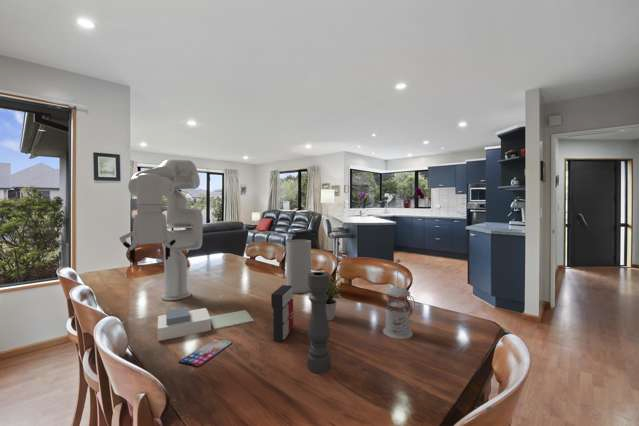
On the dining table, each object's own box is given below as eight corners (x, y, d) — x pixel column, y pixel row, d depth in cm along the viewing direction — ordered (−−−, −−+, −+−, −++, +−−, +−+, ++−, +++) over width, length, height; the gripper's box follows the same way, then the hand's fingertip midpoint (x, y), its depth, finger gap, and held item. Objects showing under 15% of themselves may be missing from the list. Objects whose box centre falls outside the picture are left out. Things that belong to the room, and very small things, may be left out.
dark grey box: (284, 342, 90) (284, 295, 89) (271, 340, 91) (271, 294, 90) (294, 327, 100) (294, 285, 100) (282, 326, 101) (282, 284, 101)
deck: (158, 327, 101) (158, 316, 101) (206, 318, 109) (206, 307, 109) (157, 341, 91) (157, 328, 91) (210, 330, 98) (210, 318, 98)
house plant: (354, 313, 112) (354, 272, 112) (342, 327, 100) (342, 281, 99) (321, 308, 118) (321, 269, 118) (306, 321, 106) (305, 277, 105)
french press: (376, 328, 99) (376, 257, 98) (403, 323, 103) (403, 254, 103) (395, 341, 90) (395, 262, 89) (423, 334, 94) (423, 259, 94)
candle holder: (307, 361, 79) (306, 271, 78) (329, 360, 79) (328, 270, 78) (308, 374, 72) (307, 277, 72) (332, 373, 73) (331, 276, 72)
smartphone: (234, 341, 90) (198, 367, 76) (234, 343, 90) (198, 369, 76) (214, 337, 92) (177, 361, 78) (214, 339, 92) (177, 364, 78)
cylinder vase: (310, 293, 138) (310, 242, 137) (285, 294, 138) (284, 242, 137) (311, 286, 150) (311, 239, 150) (288, 286, 151) (287, 239, 150)
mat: (209, 317, 109) (209, 316, 109) (245, 310, 116) (245, 310, 116) (213, 329, 99) (213, 328, 99) (253, 321, 106) (253, 320, 106)
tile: (166, 316, 101) (166, 310, 101) (187, 312, 104) (187, 307, 104) (166, 325, 93) (166, 319, 93) (189, 321, 97) (189, 315, 96)
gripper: (177, 210, 105) (178, 257, 104) (120, 210, 96) (121, 261, 96) (178, 209, 98) (179, 259, 98) (117, 210, 90) (118, 264, 89)
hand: (150, 260), depth 97 cm, fingers open, 9 cm apart
